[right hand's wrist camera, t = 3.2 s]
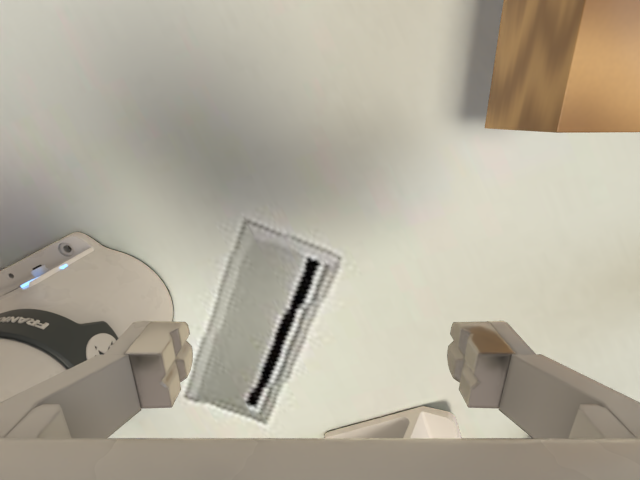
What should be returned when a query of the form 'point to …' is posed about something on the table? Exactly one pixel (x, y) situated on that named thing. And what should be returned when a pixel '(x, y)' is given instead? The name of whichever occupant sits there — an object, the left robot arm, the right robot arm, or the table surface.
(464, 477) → the right robot arm
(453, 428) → the tablet stand
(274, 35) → the table surface
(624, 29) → the bar
